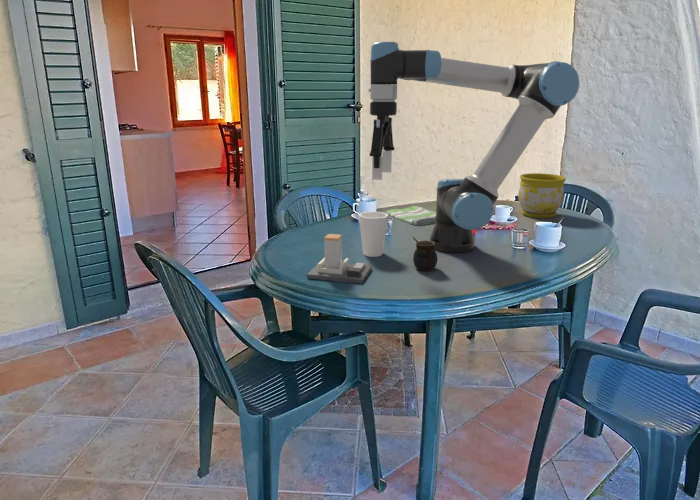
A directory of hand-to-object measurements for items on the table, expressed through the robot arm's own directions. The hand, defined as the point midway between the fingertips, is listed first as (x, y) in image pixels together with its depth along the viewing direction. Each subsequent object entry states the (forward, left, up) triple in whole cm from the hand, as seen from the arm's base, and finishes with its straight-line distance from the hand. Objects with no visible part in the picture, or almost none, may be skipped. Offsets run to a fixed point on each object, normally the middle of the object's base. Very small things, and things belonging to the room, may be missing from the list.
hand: (382, 175), depth 151 cm
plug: (+11, +14, -26) cm, 31 cm away
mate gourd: (-14, +3, -27) cm, 31 cm away
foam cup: (+4, -7, -27) cm, 28 cm away
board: (+9, +14, -27) cm, 31 cm away
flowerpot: (-52, -78, -27) cm, 98 cm away
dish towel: (-2, -60, -28) cm, 66 cm away
